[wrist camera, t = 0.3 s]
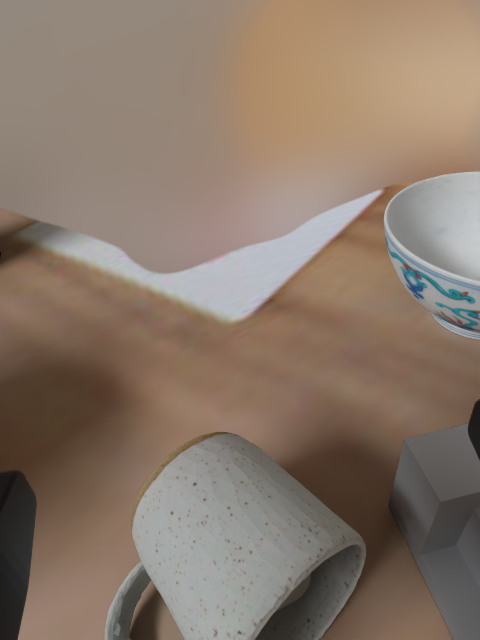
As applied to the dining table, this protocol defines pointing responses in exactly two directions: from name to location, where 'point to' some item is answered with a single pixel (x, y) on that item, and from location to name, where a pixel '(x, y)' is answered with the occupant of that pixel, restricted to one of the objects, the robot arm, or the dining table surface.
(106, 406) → the dining table surface
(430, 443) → the mount
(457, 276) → the chinaware
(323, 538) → the ceramic mug
